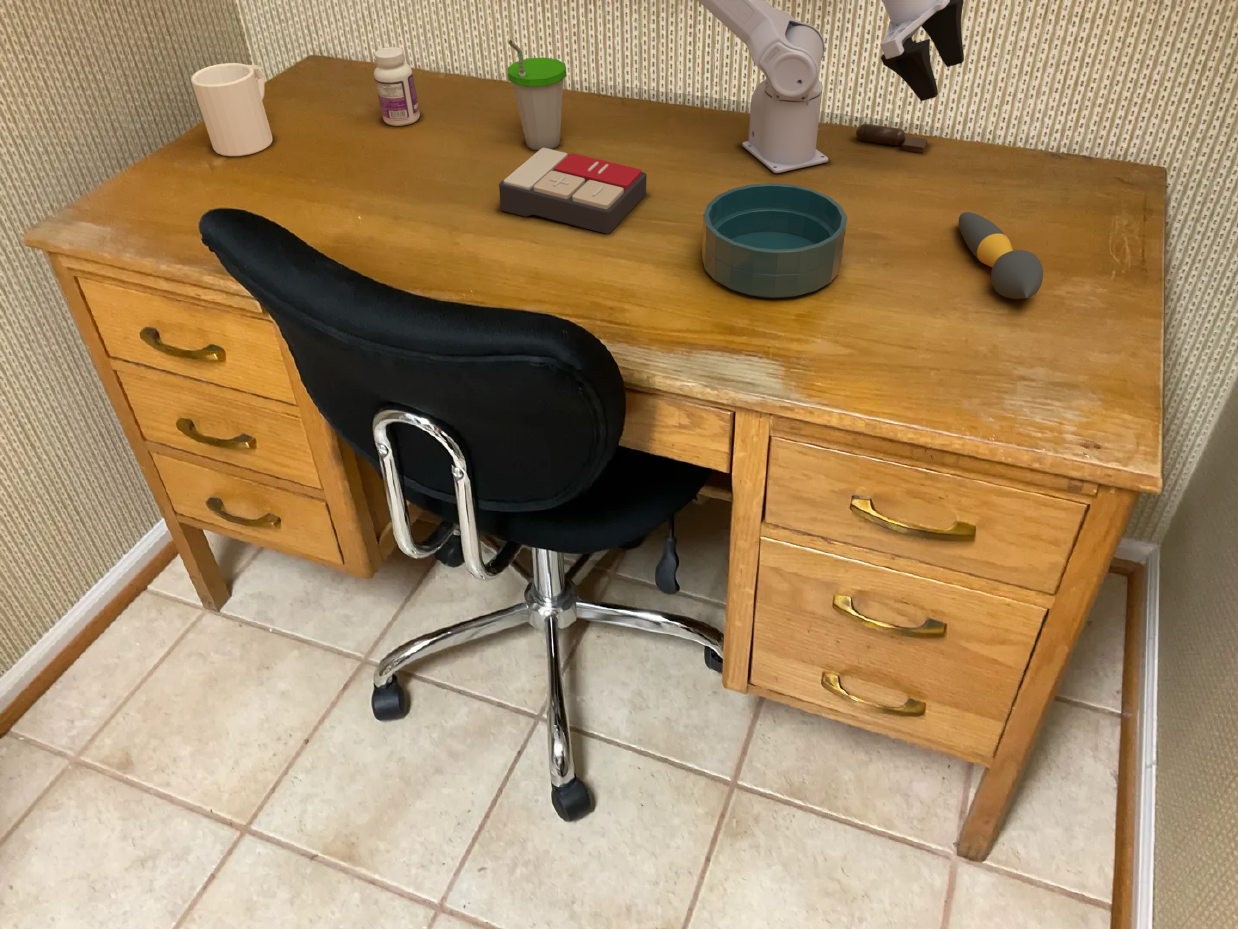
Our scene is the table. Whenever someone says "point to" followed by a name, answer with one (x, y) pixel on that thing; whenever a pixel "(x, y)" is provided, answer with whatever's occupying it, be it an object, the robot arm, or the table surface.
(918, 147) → the brush
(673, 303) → the table surface
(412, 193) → the table surface
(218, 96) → the mug
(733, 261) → the bowl
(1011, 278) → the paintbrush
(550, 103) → the cup
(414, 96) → the pill bottle
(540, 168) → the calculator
